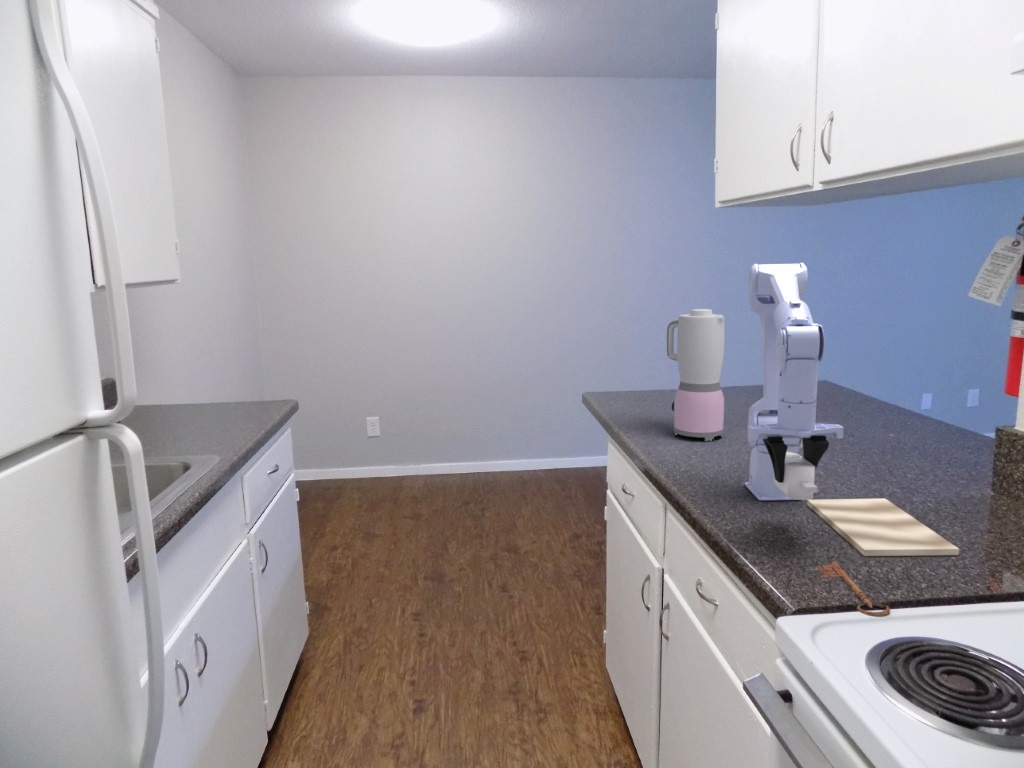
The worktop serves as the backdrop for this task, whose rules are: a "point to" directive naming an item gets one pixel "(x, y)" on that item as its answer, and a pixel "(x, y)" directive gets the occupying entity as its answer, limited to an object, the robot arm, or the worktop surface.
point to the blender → (698, 373)
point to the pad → (880, 528)
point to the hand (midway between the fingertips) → (793, 480)
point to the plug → (797, 477)
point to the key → (853, 588)
